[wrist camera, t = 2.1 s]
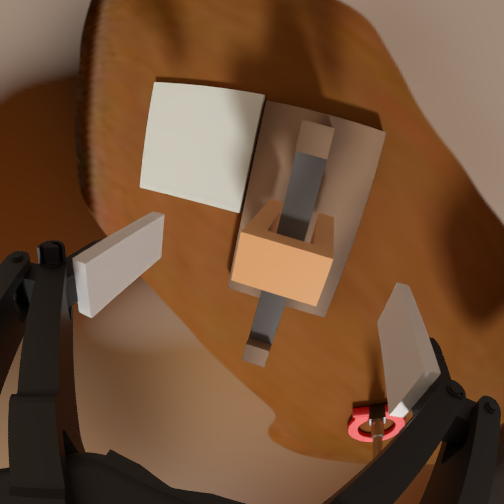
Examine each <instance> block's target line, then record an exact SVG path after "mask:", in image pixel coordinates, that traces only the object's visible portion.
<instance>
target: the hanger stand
mask: <svg viewBox="0 0 504 504" xmlns="http://www.w3.org/2000/svg"><path fill="white" fill-rule="evenodd" d="M385 136H386V132H383V131H381V130H378V129H375V128H372V127H369V126H366V125H362V124H359V123H356V122H353V121H349V120H346V119H343V118H339V117H336V116H332V115H328V114H325V113H321V112H317V111H313V110H309V109H305V108H301V107H296V106H292V105H288V104H283V103H278V102H273V101H268V100H266V105H265V109H264V114H263V118H262V123H261V127H260V132H259V137H258V141H257V146H256V151H255V155H254V160H253V165H252V170H251V174H250V179H249V184H248V189H247V194H246V198H245V203H244V208H243V213H242V218H241V223H240V228H239V233H238V238H237V243H236V248H235V253H234V258H233V263H232V268H231V273H230V278H229V284H228V288H230V289H233V290H236V291H239V292H242V293H245V294H249V295H252V296H255V297H258V298H259V302H258V306H257V309H256V313H255V317H254V321H253V324H252V328H251V332H250V335H249V339H248V341H247V343H246V346H245V350H244V354H243V358H242V360H243V361H246V362H250V363H253V364H256V365H259V366H262V367H264V365H265V362H266V360H267V357H268V354H269V351H270V348H271V345H272V342H273V339H274V336H275V333H276V330H277V327H278V324H279V321H280V318H281V315H282V312H283V309H284V306H287V307H290V308H294V309H297V310H300V311H304V312H307V313H310V314H314V315H317V316H321V317H325V315H326V312H327V310H328V308H329V305H330V303H331V300H332V298H333V295H334V293H335V290H336V288H337V285H338V282H339V280H340V277H341V275H342V272H343V269H344V266H345V264H346V261H347V258H348V256H349V253H350V250H351V247H352V244H353V241H354V239H355V236H356V233H357V230H358V227H359V224H360V221H361V218H362V215H363V212H364V209H365V205H366V202H367V199H368V196H369V193H370V189H371V186H372V183H373V179H374V176H375V172H376V169H377V165H378V162H379V158H380V155H381V151H382V147H383V143H384V140H385ZM270 199H273V200H277V201H280V202H284V204H283V208H282V212H281V216H280V220H279V224H278V228H277V232H276V233H277V234H280V235H283V236H287V237H290V238H294V239H297V240H300V241H304V242H307V243H310V240H311V237H312V233H313V230H314V227H315V223H316V220H317V216H318V213H322V214H325V215H329V216H332V217H334V259H333V262H332V265H331V268H330V271H329V273H328V276H327V279H326V282H325V284H324V287H323V290H322V292H321V295H320V298H319V300H318V303H317V306H313V305H310V304H306V303H303V302H300V301H296V300H293V299H290V298H286V297H283V296H280V295H277V294H273V293H270V292H267V291H264V290H260V289H257V288H254V287H251V286H248V285H245V284H241V283H238V282H235V281H232V280H231V278H232V273H233V268H234V263H235V258H236V253H237V248H238V243H239V238H240V233H241V231H242V230H243V229H244V228H245V227H246V225H247V224H248V223H249V222H250V221H251V220H252V219H253V218H254V217H255V215H256V214H257V213H258V212H259V211H260V210H261V209H262V208H263V207H264V206H265V204H266V203H267V202H268V201H269V200H270Z"/></svg>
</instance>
